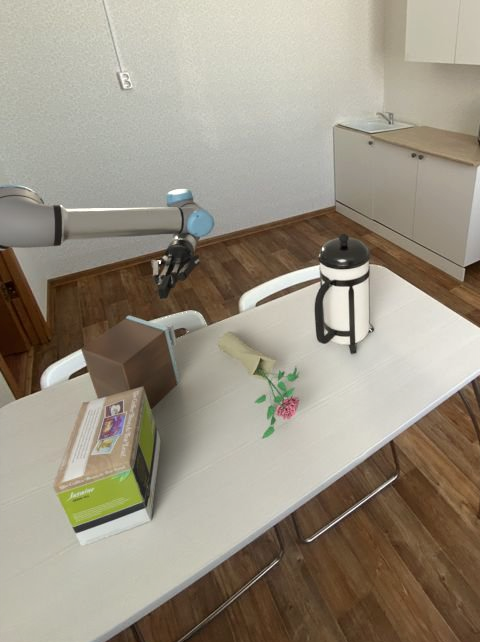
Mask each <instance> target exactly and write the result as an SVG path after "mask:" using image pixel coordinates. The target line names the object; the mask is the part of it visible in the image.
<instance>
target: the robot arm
mask: <svg viewBox="0 0 480 642" xmlns="http://www.w3.org/2000/svg"><path fill="white" fill-rule="evenodd" d="M165 198H166V205H167V207H121V208H120V207H118V208H117V207H116V208H115V207H114V208H66V207H64V206H63V205H62V204H46V203H45V201H44V200H43V199H42V197H41V196H40V195H39V194H38V193H37V192H36V191H34V190H33V189H31V188H29V187H27V186H24V185H20V184H4V185H0V251H6V250H7V249H9V248H18V249H19V248H20V249H23V248H27V249H28V248H47V247H58V246H59V247H60V246H63V245H64V244H66V243H67V242H69V241H70V242H71V241H72V242H73V241H85V240H86V241H87V240H101V239H102V240H103V239H115V238H116V239H118V238H131V237H132V238H134V237H147V236H149V237H150V236H161V235H165V236H166V235H172V238H171V240H170V242H169V244H168V246H167V248H166V249H165V252H164V255H163V256H162V257H161V258H160V260H156V259H152V260H150V265H151V268H152V276H153V281H154V285H157V291H158V296H159V299H160V300H163V299H168V297H169V294H170V292H171V289H174V288H176V284H177V283H178V282H179V281H180V282H184V281H186V279H187V278H188V277H189V276H190V274H191V273H192V272H193V271H194V269H195V268H196V267H197V266H199V265H200V264H201V259H200V255H199V254H196V255H194V254H195V252H196V248H197V245H198V243H199V241H200V238H202V237H205V236H208V235H209V234H210V233H211V232H213V229H214V226H215V219H214V217H213V216H212V215H211V213H210V212H209V211H208V210H207V209H205V208H203V207H201V206H200V205H199V204H197V203H196V202H194V196H193V193H192V190H190V189H188V188H178V189H173V190H171V191H170V190H169V192H167V193H166V195H165ZM162 266H163V269H162V270H160V269H161V267H162Z"/></svg>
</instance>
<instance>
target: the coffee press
mask: <svg viewBox="0 0 480 642" xmlns="http://www.w3.org/2000/svg"><path fill="white" fill-rule="evenodd" d="M317 259H318V262H319V284H320V287H319V289H318V291H317V293H316V296H315V299H314V324H315V336H316V340H317V342H319V343H320V344H322V345H327V344H328V343H329V342H330V341H331V342H333V343H334V344H338V345H342V346H348V347H349V352H350V354H351V355H354V354H355V355H356V354H357V346H356V344H357V343H360V342H361V341H362V340H364V339H365V338H366V337H367V335H368V333H374V331H375V327H374V326H373V324H372V323H371V305H370V304H371V303H370V302H371V298H370V297H371V296H370V295H371V294H370V292H371V291H370V275H371V274H370V273H371V267H370V259H371V250H370V249H369V247H368V246H367V245H366V244H365V242H363V241H361V240H360V239H357V238H355V237H350V236H348V234H346V233H341V234H339V237H335V238H333V239H330V240H328V241H327V242H325V243H324V244H323V245H322V246H321V248H320V250H319V251H318V253H317ZM370 327H371V328H370ZM369 329H371V330H372V332H370V330H369Z"/></svg>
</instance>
